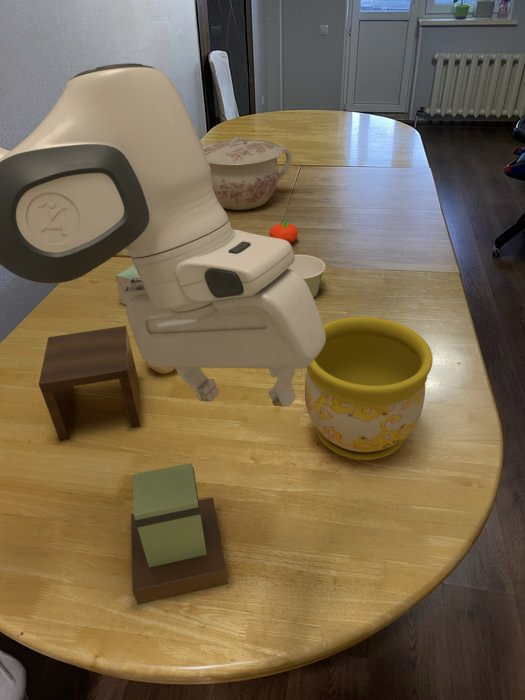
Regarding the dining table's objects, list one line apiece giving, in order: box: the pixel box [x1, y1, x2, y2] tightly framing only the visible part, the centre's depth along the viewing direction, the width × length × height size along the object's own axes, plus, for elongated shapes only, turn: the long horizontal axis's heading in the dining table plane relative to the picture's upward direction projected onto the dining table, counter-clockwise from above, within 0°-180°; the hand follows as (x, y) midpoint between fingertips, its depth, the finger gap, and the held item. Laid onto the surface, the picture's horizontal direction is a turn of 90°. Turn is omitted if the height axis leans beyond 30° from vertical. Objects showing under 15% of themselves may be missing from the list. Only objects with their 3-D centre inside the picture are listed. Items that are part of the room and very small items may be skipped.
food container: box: [287, 254, 326, 298], centre depth 120 cm, size 12×12×6 cm
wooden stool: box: [38, 325, 141, 442], centre depth 87 cm, size 13×13×12 cm
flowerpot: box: [304, 316, 434, 461], centre depth 78 cm, size 18×18×16 cm
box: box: [115, 264, 140, 306], centre depth 121 cm, size 7×14×8 cm, turn 150°
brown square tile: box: [130, 496, 229, 605], centre depth 66 cm, size 11×11×3 cm
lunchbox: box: [132, 462, 207, 568], centre depth 62 cm, size 6×7×10 cm
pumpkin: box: [268, 220, 299, 244], centre depth 142 cm, size 7×8×6 cm
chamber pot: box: [203, 137, 293, 211], centre depth 165 cm, size 28×28×21 cm
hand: (245, 400), depth 50 cm, fingers open, 8 cm apart
